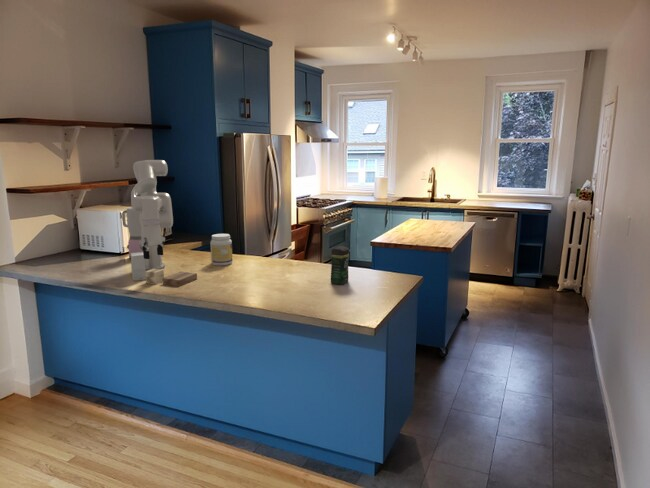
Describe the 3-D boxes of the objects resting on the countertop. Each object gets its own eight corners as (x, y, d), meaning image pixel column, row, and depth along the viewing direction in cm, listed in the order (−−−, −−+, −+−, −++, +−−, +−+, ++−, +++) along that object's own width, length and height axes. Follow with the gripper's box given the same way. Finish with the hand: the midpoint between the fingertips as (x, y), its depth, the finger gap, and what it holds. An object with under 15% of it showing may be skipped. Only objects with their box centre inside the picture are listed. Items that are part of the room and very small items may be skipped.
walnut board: (162, 284, 236) (162, 278, 236) (181, 277, 249) (180, 271, 248) (179, 286, 233) (179, 280, 232) (197, 279, 245) (196, 273, 245)
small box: (146, 279, 244) (144, 254, 241) (133, 281, 241) (131, 256, 238) (144, 275, 251) (143, 251, 248) (132, 277, 248) (130, 252, 245)
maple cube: (146, 283, 238) (145, 271, 237) (154, 280, 244) (153, 268, 242) (156, 284, 236) (155, 272, 235) (164, 281, 241) (163, 269, 240)
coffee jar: (342, 286, 235) (343, 249, 231) (328, 283, 239) (328, 247, 235) (350, 281, 243) (351, 245, 240) (337, 279, 247) (337, 244, 243)
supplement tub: (236, 264, 277) (235, 235, 274) (216, 267, 270) (214, 237, 267) (227, 260, 287) (226, 232, 283) (208, 262, 280) (206, 234, 277)
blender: (154, 256, 296) (151, 204, 289) (144, 260, 284) (141, 207, 277) (130, 255, 298) (127, 204, 291) (120, 259, 286) (115, 206, 280)
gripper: (157, 220, 243) (159, 253, 246) (132, 224, 227) (134, 259, 230) (169, 220, 240) (171, 254, 243) (144, 225, 224) (147, 260, 227)
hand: (153, 256), depth 237 cm, fingers open, 9 cm apart
